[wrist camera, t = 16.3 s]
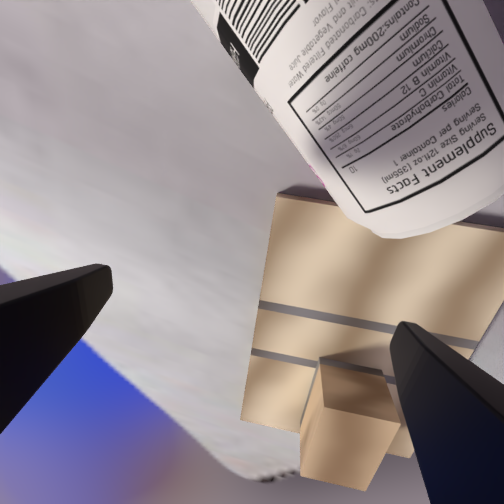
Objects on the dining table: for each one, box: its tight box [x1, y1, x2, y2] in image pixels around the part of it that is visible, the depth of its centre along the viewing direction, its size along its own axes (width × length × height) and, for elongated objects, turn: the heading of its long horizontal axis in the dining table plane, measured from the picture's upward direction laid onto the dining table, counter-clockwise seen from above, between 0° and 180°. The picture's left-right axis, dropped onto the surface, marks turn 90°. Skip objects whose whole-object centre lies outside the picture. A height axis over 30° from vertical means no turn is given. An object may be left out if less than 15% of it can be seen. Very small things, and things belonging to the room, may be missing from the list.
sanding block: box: [300, 357, 401, 491], centre depth 22 cm, size 5×8×4 cm, turn 173°
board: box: [240, 193, 504, 458], centre depth 22 cm, size 16×22×1 cm
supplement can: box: [190, 0, 504, 239], centre depth 12 cm, size 8×8×15 cm
